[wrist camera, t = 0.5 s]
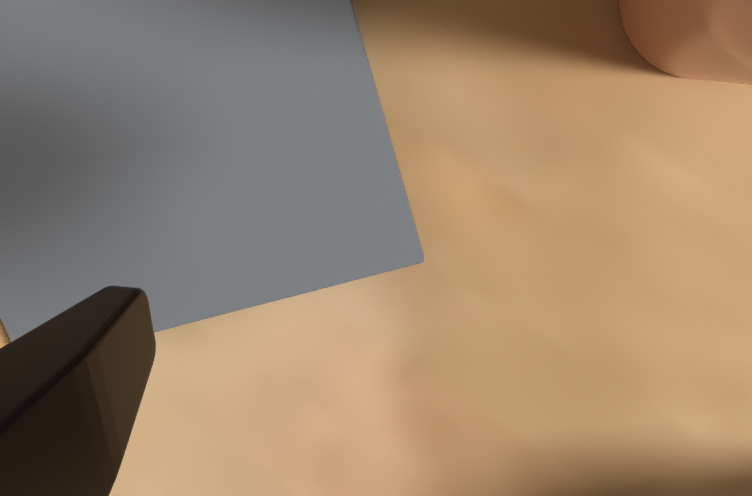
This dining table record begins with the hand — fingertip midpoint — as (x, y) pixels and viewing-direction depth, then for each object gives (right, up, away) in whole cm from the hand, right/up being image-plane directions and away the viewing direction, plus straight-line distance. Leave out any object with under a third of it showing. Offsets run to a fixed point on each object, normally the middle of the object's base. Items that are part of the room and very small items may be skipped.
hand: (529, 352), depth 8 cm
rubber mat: (-9, +7, +13) cm, 17 cm away
